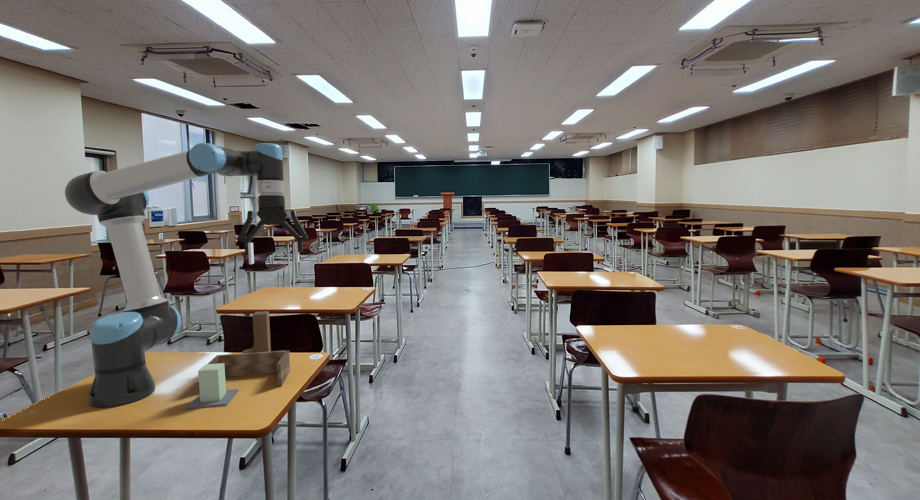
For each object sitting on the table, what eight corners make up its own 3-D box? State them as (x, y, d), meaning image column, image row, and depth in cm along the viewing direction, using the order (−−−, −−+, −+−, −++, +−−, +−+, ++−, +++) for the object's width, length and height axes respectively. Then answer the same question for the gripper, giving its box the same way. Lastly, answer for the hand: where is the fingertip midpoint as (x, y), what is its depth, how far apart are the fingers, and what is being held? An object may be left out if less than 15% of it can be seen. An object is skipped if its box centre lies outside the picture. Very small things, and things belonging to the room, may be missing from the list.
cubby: (202, 392, 127) (200, 369, 126) (218, 376, 140) (217, 355, 139) (281, 386, 131) (280, 364, 130) (290, 370, 144) (289, 350, 143)
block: (200, 402, 120) (198, 370, 119) (207, 394, 125) (205, 364, 124) (219, 400, 120) (217, 369, 120) (226, 393, 125) (224, 363, 125)
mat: (186, 408, 117) (186, 407, 117) (201, 393, 127) (201, 391, 126) (226, 405, 119) (226, 403, 118) (238, 390, 128) (238, 388, 128)
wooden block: (240, 367, 147) (237, 315, 146) (244, 362, 152) (241, 312, 150) (269, 364, 150) (266, 313, 148) (271, 360, 154) (268, 310, 152)
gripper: (223, 194, 127) (227, 266, 129) (311, 194, 132) (314, 263, 134) (231, 195, 135) (236, 262, 137) (315, 195, 139) (318, 260, 141)
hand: (274, 263), depth 135 cm, fingers open, 13 cm apart
